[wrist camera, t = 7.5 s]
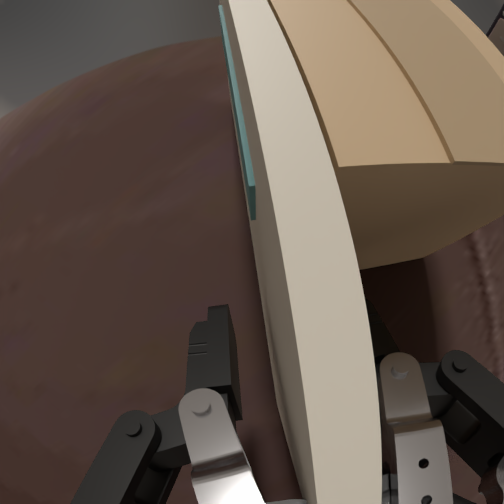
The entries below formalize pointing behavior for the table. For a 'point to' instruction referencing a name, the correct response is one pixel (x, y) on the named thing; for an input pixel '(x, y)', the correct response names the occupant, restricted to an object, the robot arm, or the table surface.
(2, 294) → the table surface
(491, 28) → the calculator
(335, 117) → the carton
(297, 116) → the flap
